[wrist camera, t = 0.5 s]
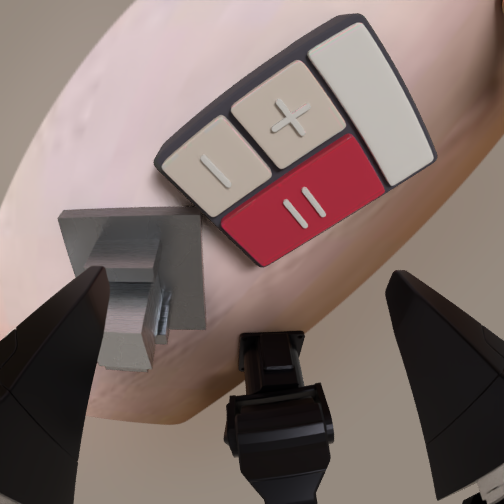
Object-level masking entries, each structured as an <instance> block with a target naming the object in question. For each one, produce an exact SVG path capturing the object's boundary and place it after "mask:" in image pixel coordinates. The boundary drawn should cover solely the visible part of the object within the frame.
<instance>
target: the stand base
mask: <svg viewBox="0 0 504 504" xmlns="http://www.w3.org/2000/svg"><path fill="white" fill-rule="evenodd" d="M58 222H59V225H60V229H61V232H62V236H63V239H64V243H65V246H66V249H67V252H68V256H69V259H70V262H71V265H72V268H73V271H74V274H75V277H77V276H78V275H80V274H81V273H82V272H84V271H85V270H86V269H87V268H89V267H90V266H92V265H100V266H104V267H105V269H106V272H107V277H108V281H109V282H155V280H156V276H157V271H158V276H159V282H160V288H161V294H162V299H163V300H162V306H161V312H160V318H159V324H158V331H157V337H156V344H168V336H169V329H179V330H206V309H205V292H204V273H203V250H202V222H201V211H200V210H199V209H198V208H197V207H138V208H105V209H80V210H63V212H62V213H61V214H60V216H59V217H58Z"/></svg>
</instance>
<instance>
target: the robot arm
mask: <svg viewBox="0 0 504 504" xmlns="http://www.w3.org/2000/svg"><path fill="white" fill-rule="evenodd" d="M385 296H386V300H387V305H388V309H389V313H390V317H391V321H392V326H393V330H394V334H395V337H396V341H397V344H398V347H399V350H400V353H401V356H402V359H403V363H404V366H405V369H406V372H407V376H408V379H409V383H410V386H411V390H412V393H413V397H414V400H415V404H416V408H417V411H418V415H419V419H420V423H421V427H422V431H423V435H424V440H425V443H426V449H427V453H428V458H429V462H430V467H431V472H432V477H433V482H434V488H435V493H436V498H437V500H441V499H443V498H445V497H448V496H450V495H452V494H454V493H457V492H459V491H461V490H463V489H465V488H467V487H469V486H471V485H473V484H475V483H477V484H478V488H479V491H480V492H479V493H477V494H475V495H473V496H471V497H469V498H467V499H465V500H464V501H463V503H462V504H504V341H503V340H502V339H500V338H499V337H498V336H496V335H495V334H494V333H492V332H491V331H490V330H488V329H487V328H486V327H484V326H482V325H481V324H480V323H479V322H477V321H476V320H475V319H474V318H472V317H471V316H469V315H468V314H467V313H466V312H464V311H463V310H461V309H460V308H459V307H457V306H456V305H455V304H453V303H452V302H450V301H449V300H448V299H446V298H445V297H443V296H442V295H441V294H439V293H438V292H436V291H435V290H433V289H432V288H430V287H429V286H427V285H426V284H425V283H423V282H422V281H420V280H419V279H417V278H416V277H415V276H413V275H412V274H410V273H409V272H407V271H405V270H396V271H394V272H393V273H392V276H391V278H390V280H389V283H388V285H387V288H386V291H385ZM109 298H110V285H109V281H108V277H107V272H106V269H105V267H104V266H100V265H92V266H90V267H89V268H87V269H86V270H85V271H84V272H82V273H81V274H80V275H78V276H77V277H76V278H75V279H73V280H72V281H71V282H70V283H68V284H67V285H66V286H65V287H63V288H62V289H61V290H60V291H58V292H57V293H56V294H55V295H54V296H52V297H51V298H50V299H49V300H47V301H46V302H45V303H44V304H43V305H41V306H40V307H39V308H38V309H37V310H36V311H34V312H33V313H32V314H31V315H30V316H29V317H27V318H26V319H25V320H24V321H23V322H22V323H20V324H19V325H18V326H17V327H16V329H14V330H12V331H11V332H10V333H9V334H8V335H7V336H6V337H4V338H3V339H2V340H1V341H0V504H73V502H74V491H75V482H76V474H77V466H78V462H77V461H78V458H79V451H80V444H81V438H82V432H83V426H84V421H85V415H86V410H87V405H88V400H89V395H90V391H91V386H92V381H93V377H94V373H95V368H96V364H97V360H98V356H99V352H100V348H101V344H102V340H103V335H104V329H105V322H106V316H107V310H108V304H109ZM304 338H305V335H304V332H303V331H289V332H263V333H243V334H241V335H240V346H239V370H240V371H245V383H246V395H241V396H235V395H233V396H230V401H229V403H228V404H227V405H226V410H227V421H226V427H225V432H224V442H225V443H226V444H227V445H229V446H230V449H231V451H232V454H233V456H234V457H239V463H240V470H241V473H242V474H243V475H244V476H245V478H246V479H247V480H248V482H250V484H251V485H252V486H253V487H254V489H255V490H256V491H257V492H258V493H259V495H260V496H261V497H262V498H263V499H264V501H265V504H317V498H316V491H317V489H318V487H319V484H320V483H321V480H322V478H323V476H324V474H325V471H326V469H327V467H328V464H329V462H330V451H329V444H331V443H333V442H334V430H333V424H332V418H331V414H330V411H329V407H328V405H327V401H326V398H325V395H324V392H323V389H322V386H321V383H315V384H314V385H309V386H304V382H303V377H302V372H301V367H300V362H299V355H300V352H301V348H302V345H303V341H304Z"/></svg>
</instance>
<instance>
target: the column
mask: <svg viewBox="0 0 504 504" xmlns="http://www.w3.org/2000/svg"><path fill="white" fill-rule="evenodd" d="M109 285H110V298H109V304H108V310H107V316H106V322H105V329H104V335H103V340H102V344H101V348H100V352H99V356H98V360H97V362H98V363H99V365H100V366H105V368H106V369H110V370H122V371H137V372H148V369H152V366H153V359H154V351H155V344H156V337H157V331H158V324H159V318H160V312H161V306H162V300H163V299H162V294H161V288H160V282H159V276H158V271H157V276H156V280H155V282H109Z"/></svg>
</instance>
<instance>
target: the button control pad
mask: <svg viewBox="0 0 504 504" xmlns="http://www.w3.org/2000/svg"><path fill="white" fill-rule="evenodd" d="M436 160H437V152H436V150H435V147H434V145H433V143H432V140H431V138H430V135H429V133H428V131H427V129H426V126H425V124H424V122H423V120H422V117H421V115H420V113H419V111H418V109H417V107H416V105H415V103H414V101H413V99H412V97H411V95H410V93H409V91H408V89H407V87H406V85H405V83H404V81H403V79H402V77H401V76H400V74H399V72H398V70H397V68H396V67H395V65H394V63H393V61H392V60H391V58H390V56H389V54H388V53H387V51H386V49H385V48H384V46H383V44H382V43H381V41H380V40H379V38H378V36H377V35H376V33H375V32H374V30H373V29H372V27H371V25H370V24H369V22H368V21H367V20H366V18H365V17H364V16H363V15H361V14H358V13H357V14H345V15H338V16H336V17H334V18H333V19H331V20H329V21H327V22H326V23H324V24H322V25H321V26H319V27H317V28H316V29H314V30H312V31H311V32H309V33H308V34H306V35H304V36H303V37H301V38H300V39H298V40H297V41H295V42H294V43H292V44H291V45H290V46H288V47H287V48H286V49H284V50H283V51H281V52H280V53H278V54H277V55H275V56H274V57H272V58H271V59H269V60H268V61H267V62H265V63H264V64H262V65H261V66H259V67H258V68H257V69H255V70H254V71H252V72H251V73H250V74H248V75H247V76H245V77H244V78H243V79H241V80H240V81H239V82H237V83H236V84H235V85H233V86H232V87H231V88H229V89H228V90H227V91H226V92H224V93H223V94H222V95H220V96H219V97H218V98H217V99H215V100H214V101H213V102H212V103H210V104H209V105H208V106H207V107H205V108H204V109H203V110H202V111H201V112H199V113H198V114H197V115H196V116H195V117H193V118H192V119H191V120H190V121H189V122H187V123H186V124H185V125H184V126H183V127H182V128H180V129H179V130H178V131H177V132H176V133H175V134H174V135H173V136H171V137H170V138H169V139H168V140H167V141H166V142H165V143H164V144H163V145H162V147H161V149H160V150H159V152H158V154H157V155H156V157H155V159H154V166H155V167H156V168H157V169H158V170H159V171H160V172H161V173H162V174H163V175H164V176H165V177H166V178H167V179H168V180H169V181H170V182H171V183H172V184H173V185H174V186H175V187H176V188H177V189H178V190H179V191H180V192H182V193H183V194H184V195H185V196H186V197H187V198H188V199H189V200H190V201H191V202H192V203H193V204H194V205H195V206H196V207H197V208H198V209H199V210H200V211H201V212H202V213H203V214H204V215H205V216H206V217H207V218H208V219H210V220H211V221H212V222H213V223H214V224H215V225H216V226H217V227H218V228H219V229H220V230H221V231H222V232H223V233H224V234H225V235H226V236H227V237H228V238H229V239H230V240H231V241H232V242H233V243H235V244H236V245H237V246H238V247H239V248H240V249H241V250H242V251H243V252H244V253H245V254H246V255H247V256H248V257H249V258H250V259H251V260H252V261H253V262H254V263H255V264H256V265H258V266H259V267H266V266H268V265H270V264H271V263H273V262H275V261H276V260H278V259H280V258H281V257H283V256H284V255H286V254H288V253H289V252H291V251H293V250H294V249H296V248H298V247H299V246H301V245H303V244H304V243H306V242H308V241H309V240H311V239H312V238H314V237H316V236H317V235H319V234H321V233H322V232H324V231H326V230H327V229H329V228H330V227H332V226H334V225H335V224H337V223H339V222H340V221H342V220H343V219H345V218H347V217H348V216H350V215H351V214H353V213H355V212H356V211H358V210H360V209H361V208H363V207H364V206H366V205H368V204H369V203H371V202H372V201H374V200H376V199H377V198H379V197H380V196H382V195H384V194H385V193H387V192H388V191H390V190H391V189H393V188H395V187H396V186H398V185H399V184H401V183H403V182H404V181H406V180H407V179H409V178H410V177H412V176H414V175H415V174H417V173H418V172H420V171H421V170H423V169H425V168H426V167H428V166H429V165H431V164H432V163H434V162H435V161H436Z"/></svg>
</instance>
